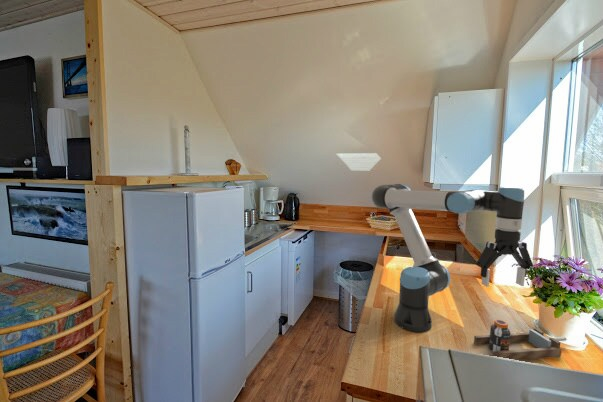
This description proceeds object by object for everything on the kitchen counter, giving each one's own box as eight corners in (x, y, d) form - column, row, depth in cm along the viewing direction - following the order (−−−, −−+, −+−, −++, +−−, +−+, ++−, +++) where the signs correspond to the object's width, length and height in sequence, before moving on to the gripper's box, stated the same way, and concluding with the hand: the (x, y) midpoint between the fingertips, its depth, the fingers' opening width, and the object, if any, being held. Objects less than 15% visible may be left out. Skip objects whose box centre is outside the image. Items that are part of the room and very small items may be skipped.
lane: (495, 361, 97) (496, 348, 96) (473, 343, 107) (474, 331, 107) (560, 356, 100) (562, 343, 99) (533, 339, 110) (534, 327, 109)
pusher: (546, 354, 101) (548, 341, 100) (528, 341, 108) (529, 329, 107) (574, 352, 102) (576, 339, 101) (554, 339, 109) (555, 327, 109)
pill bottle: (501, 357, 99) (504, 327, 98) (484, 348, 104) (487, 319, 103) (512, 353, 101) (515, 324, 100) (495, 344, 107) (497, 316, 105)
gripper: (482, 231, 97) (477, 289, 100) (549, 231, 99) (543, 288, 101) (468, 227, 105) (463, 281, 107) (531, 226, 106) (525, 280, 109)
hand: (502, 285), depth 104 cm, fingers open, 13 cm apart
